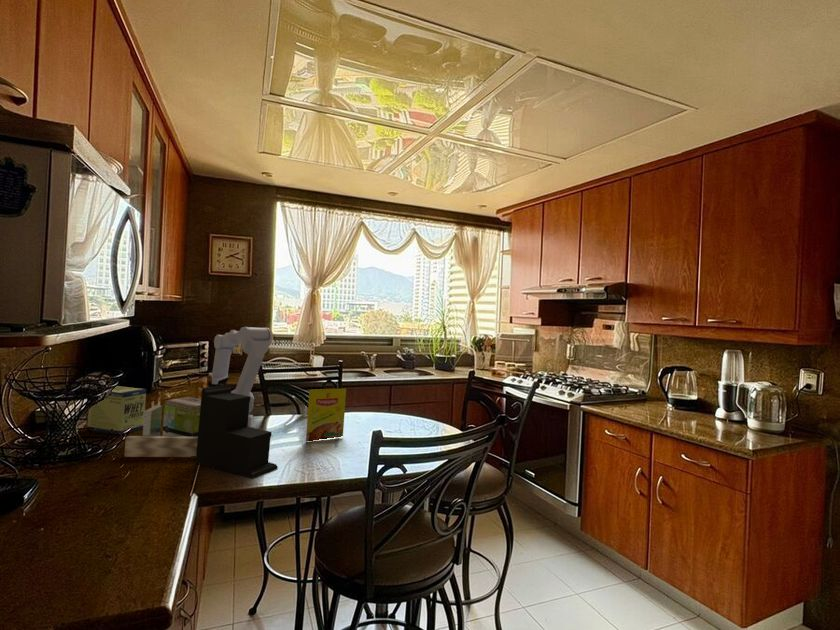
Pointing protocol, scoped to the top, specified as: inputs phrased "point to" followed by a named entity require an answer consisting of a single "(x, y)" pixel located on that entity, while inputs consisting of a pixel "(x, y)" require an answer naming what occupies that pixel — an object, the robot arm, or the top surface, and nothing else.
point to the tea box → (181, 417)
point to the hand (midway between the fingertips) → (216, 396)
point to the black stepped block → (231, 435)
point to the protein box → (119, 411)
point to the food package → (325, 413)
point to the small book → (152, 421)
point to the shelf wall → (160, 446)
